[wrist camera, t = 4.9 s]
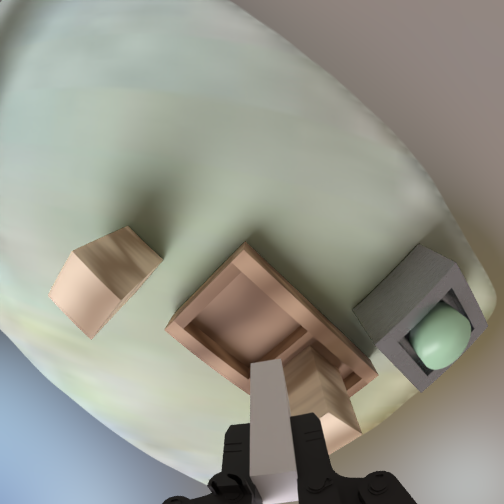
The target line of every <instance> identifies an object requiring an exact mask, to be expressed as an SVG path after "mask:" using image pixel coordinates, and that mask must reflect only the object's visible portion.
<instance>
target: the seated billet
mask: <svg viewBox="0 0 504 504" xmlns="http://www.w3.org/2000/svg"><path fill="white" fill-rule="evenodd" d="M283 372H284V377H285V382H286V387H287V392H288V398H289V405H290V412H291V416H297V415H302V414H307V413H312V412H313V413H314V414H315V415H316V416H317V417H318V418H319V419H320V421H321V425H322V429H323V433H324V438H325V442H326V446H327V450H328V454H331V453H333V452H334V451H336V450H338V449H339V448H341V447H343V446H344V445H346V444H348V443H349V442H351V441H353V440H354V439H356V438H357V437H359V436H360V435H362V432H361V429H360V426H359V423H358V421H357V418H356V415H355V412H354V409H353V407H352V404H351V401H350V398H349V396H348V393H347V390H346V388H345V385H344V382H343V380H342V377H341V374H340V372H339V369H338V368H337V367H335V366H334V365H333V364H332V363H331V362H329V361H328V360H327V359H326V358H325V357H324V356H322V355H321V354H320V353H319V352H318V351H316V350H315V349H314V348H313V347H312V346H311V345H309V346H308V347H307V348H306V349H305V350H303V351H302V352H301V353H300V354H298V355H297V356H296V357H295V358H293V359H292V360H291V361H290V362H288V363H287V364H286V365H285V366H283Z"/></svg>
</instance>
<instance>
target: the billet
mask: <svg viewBox="0 0 504 504" xmlns="http://www.w3.org/2000/svg"><path fill="white" fill-rule="evenodd" d="M162 261H163V259H162V258H161V257H160V256H158V255H157V254H156V253H155V252H154V251H153V250H152V249H151V248H150V247H149V246H148V245H147V244H146V243H145V242H144V241H143V240H142V239H141V238H140V237H139V236H138V235H137V234H136V233H135V232H134V231H133V230H131V229H130V228H129V227H128V226H126V227H124V228H122V229H119V230H117V231H115V232H113V233H110V234H108V235H106V236H104V237H101V238H99V239H97V240H95V241H92V242H90V243H88V244H86V245H84V246H82V247H80V248H77V249H75V250H73V251H72V252H71V254H70V255H69V257H68V259H67V261H66V262H65V264H64V266H63V268H62V269H61V271H60V273H59V275H58V277H57V279H56V281H55V282H54V284H53V286H52V288H51V290H50V292H49V294H48V296H49V297H50V298H51V299H52V301H53V302H54V303H55V304H56V305H57V306H58V307H59V308H60V309H61V310H62V311H63V312H64V313H65V314H66V315H67V316H68V318H69V319H70V320H71V321H72V322H73V323H74V324H75V325H76V326H77V327H78V328H79V329H81V330H82V331H83V332H84V333H85V334H86V335H87V336H88V337H89V338H90V339H91V340H92V339H93V337H94V336H95V335H96V334H97V333H98V332H99V331H100V330H101V329H102V328H103V327H104V325H105V324H106V323H107V322H108V321H109V320H110V319H111V318H112V317H113V316H114V315H115V314H116V313H117V312H118V311H119V310H120V309H121V307H122V306H123V305H124V304H125V303H126V302H127V301H128V300H129V299H130V298H131V297H132V296H133V295H134V294H135V293H136V292H137V291H138V289H139V288H140V287H141V286H142V285H143V283H144V282H145V281H146V280H147V279H148V277H149V276H150V275H151V274H152V273H153V271H154V270H155V269H156V268H157V267H158V266H159V264H160V263H161V262H162Z"/></svg>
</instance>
